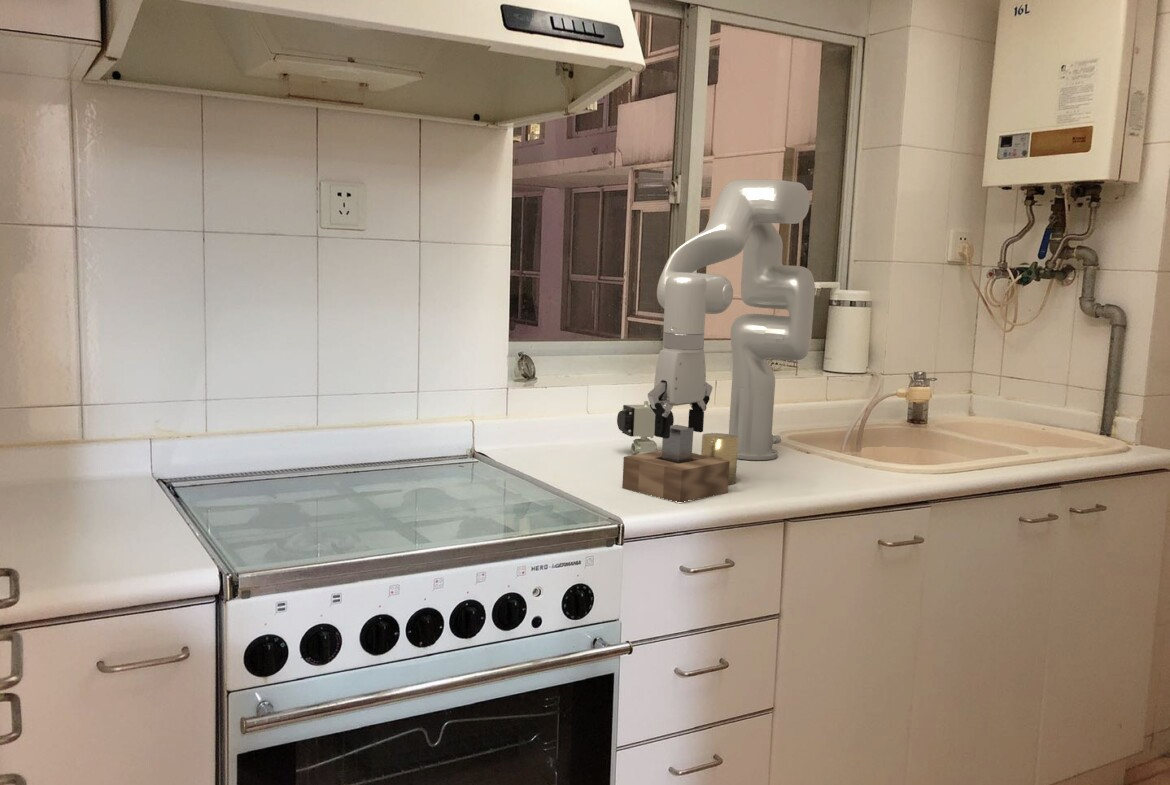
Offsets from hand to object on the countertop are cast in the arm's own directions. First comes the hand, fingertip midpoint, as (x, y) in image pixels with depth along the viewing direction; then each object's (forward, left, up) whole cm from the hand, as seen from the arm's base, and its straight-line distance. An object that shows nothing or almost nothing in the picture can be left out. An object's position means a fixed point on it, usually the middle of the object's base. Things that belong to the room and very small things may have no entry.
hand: (679, 434), depth 183 cm
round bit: (-13, 0, -11) cm, 17 cm away
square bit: (0, 0, -11) cm, 11 cm away
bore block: (0, 0, -11) cm, 11 cm away
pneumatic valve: (-20, -26, -11) cm, 34 cm away
